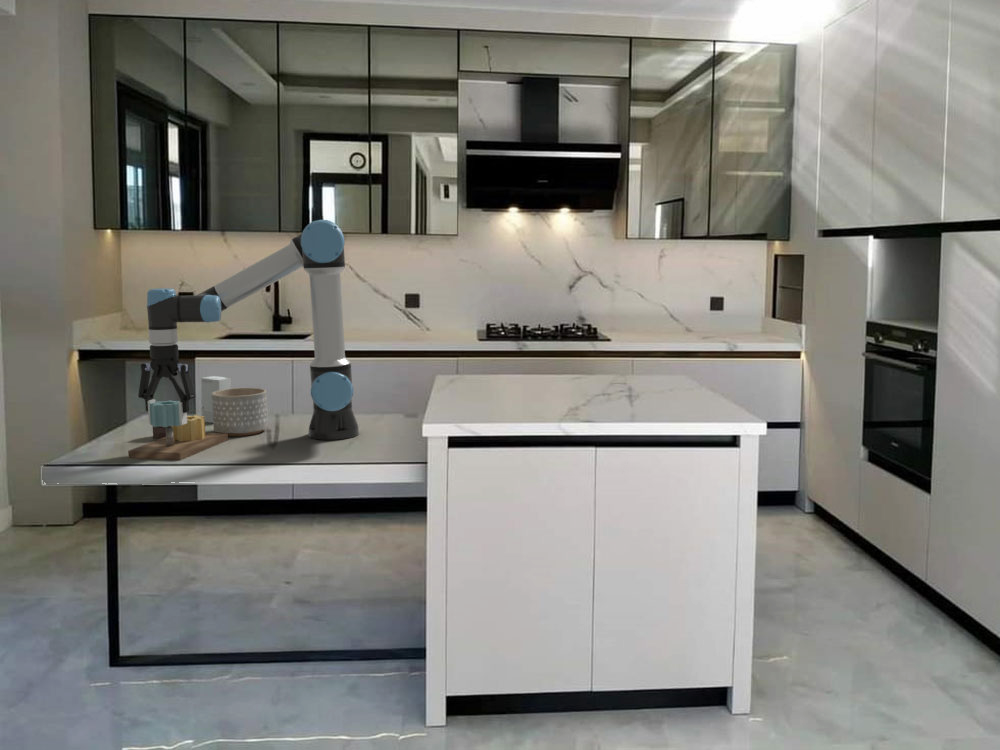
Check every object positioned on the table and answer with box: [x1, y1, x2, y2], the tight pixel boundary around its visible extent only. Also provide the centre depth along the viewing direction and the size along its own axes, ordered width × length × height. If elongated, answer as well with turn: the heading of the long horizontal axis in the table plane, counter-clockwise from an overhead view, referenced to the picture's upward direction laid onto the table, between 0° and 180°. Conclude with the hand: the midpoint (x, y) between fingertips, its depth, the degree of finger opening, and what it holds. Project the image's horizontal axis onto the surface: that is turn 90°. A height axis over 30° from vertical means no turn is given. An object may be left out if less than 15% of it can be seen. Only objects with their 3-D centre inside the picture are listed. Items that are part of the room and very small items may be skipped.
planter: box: [212, 387, 269, 437], centre depth 291 cm, size 16×16×13 cm
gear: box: [150, 400, 181, 428], centre depth 262 cm, size 9×9×6 cm
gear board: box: [127, 428, 229, 461], centre depth 268 cm, size 16×26×7 cm, turn 167°
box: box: [151, 425, 172, 440], centre depth 285 cm, size 6×6×7 cm
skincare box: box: [200, 375, 232, 424], centre depth 308 cm, size 8×6×15 cm
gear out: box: [172, 414, 206, 442], centre depth 273 cm, size 9×9×6 cm
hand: (168, 423), depth 263 cm, fingers closed on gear, 9 cm apart
